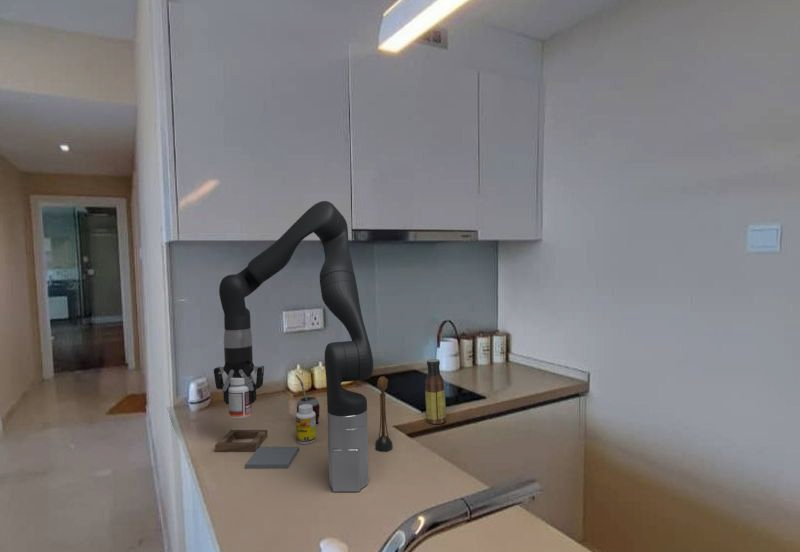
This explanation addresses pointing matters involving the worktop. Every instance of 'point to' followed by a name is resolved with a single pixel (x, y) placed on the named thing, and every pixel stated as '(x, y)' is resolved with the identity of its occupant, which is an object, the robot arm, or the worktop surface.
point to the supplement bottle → (305, 424)
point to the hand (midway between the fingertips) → (240, 402)
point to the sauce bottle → (435, 394)
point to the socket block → (230, 446)
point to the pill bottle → (239, 399)
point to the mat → (272, 457)
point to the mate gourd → (309, 402)
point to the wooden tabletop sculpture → (383, 420)
